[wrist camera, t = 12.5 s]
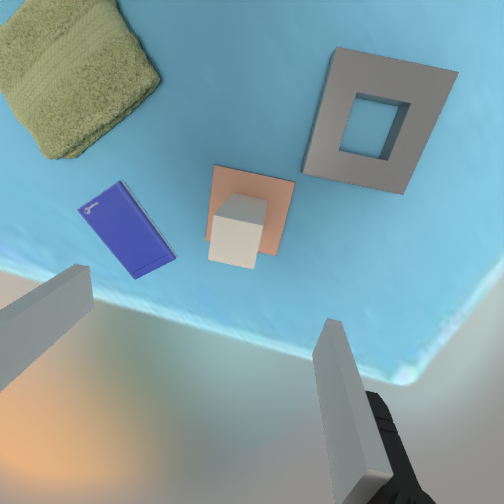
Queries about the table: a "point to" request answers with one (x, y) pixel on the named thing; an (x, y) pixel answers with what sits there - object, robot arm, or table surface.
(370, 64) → the gray square ring
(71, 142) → the washcloth
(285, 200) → the pad
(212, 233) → the plug
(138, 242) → the hard drive
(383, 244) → the table surface
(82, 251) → the table surface
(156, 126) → the table surface
